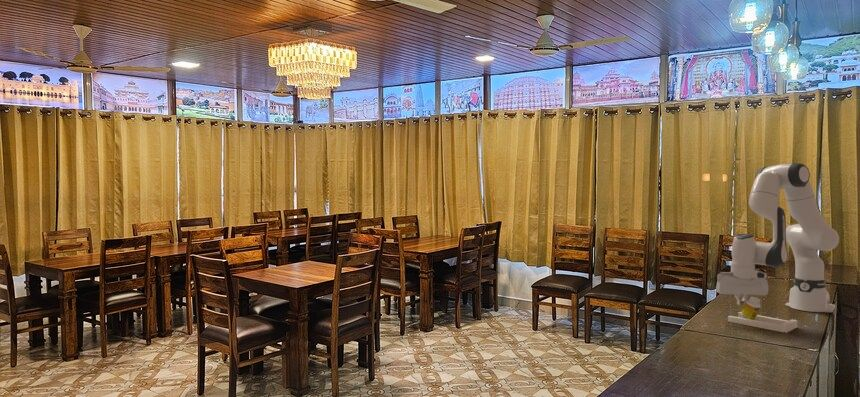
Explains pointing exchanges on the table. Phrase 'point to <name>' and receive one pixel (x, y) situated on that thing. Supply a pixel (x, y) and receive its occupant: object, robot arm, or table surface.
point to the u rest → (766, 323)
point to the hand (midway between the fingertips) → (741, 304)
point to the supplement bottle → (751, 308)
